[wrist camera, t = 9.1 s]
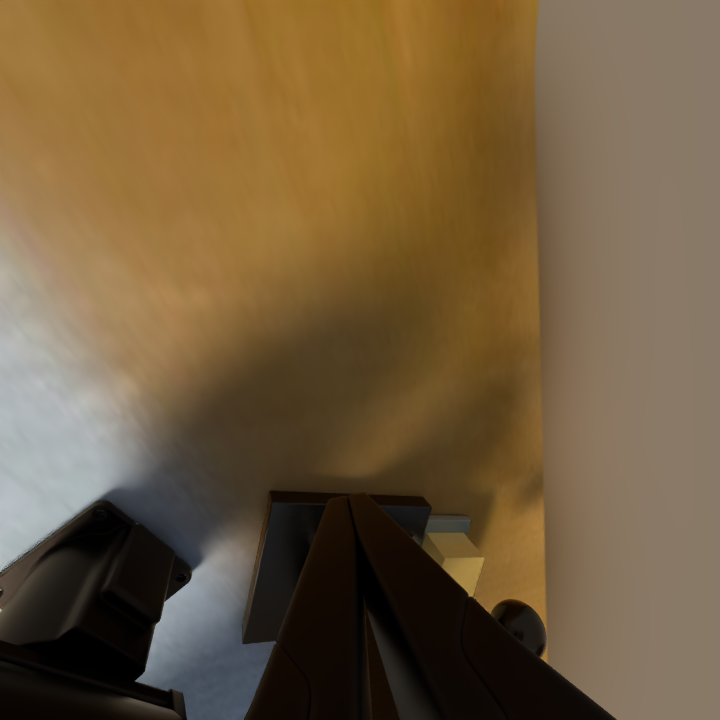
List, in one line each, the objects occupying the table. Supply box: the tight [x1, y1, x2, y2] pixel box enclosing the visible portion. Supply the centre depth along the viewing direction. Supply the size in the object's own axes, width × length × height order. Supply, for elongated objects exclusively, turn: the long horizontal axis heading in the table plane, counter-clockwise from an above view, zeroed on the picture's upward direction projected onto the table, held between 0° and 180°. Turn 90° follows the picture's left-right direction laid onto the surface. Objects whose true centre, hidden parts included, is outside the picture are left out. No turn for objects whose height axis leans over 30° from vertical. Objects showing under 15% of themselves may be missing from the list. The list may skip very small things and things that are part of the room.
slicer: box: [242, 491, 432, 720], centre depth 18 cm, size 10×9×12 cm
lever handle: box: [490, 599, 547, 658], centre depth 17 cm, size 13×3×3 cm, turn 76°
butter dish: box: [421, 515, 485, 597], centre depth 24 cm, size 4×6×3 cm, turn 166°
